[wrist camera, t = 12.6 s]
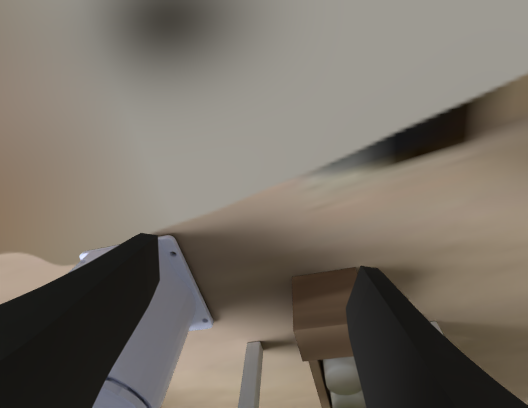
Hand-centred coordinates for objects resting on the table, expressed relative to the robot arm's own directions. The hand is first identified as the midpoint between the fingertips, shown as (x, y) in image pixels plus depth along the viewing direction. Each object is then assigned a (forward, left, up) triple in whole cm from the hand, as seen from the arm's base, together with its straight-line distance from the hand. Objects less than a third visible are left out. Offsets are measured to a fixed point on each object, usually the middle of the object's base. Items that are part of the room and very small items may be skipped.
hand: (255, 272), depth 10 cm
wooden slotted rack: (+17, +2, -10) cm, 20 cm away
